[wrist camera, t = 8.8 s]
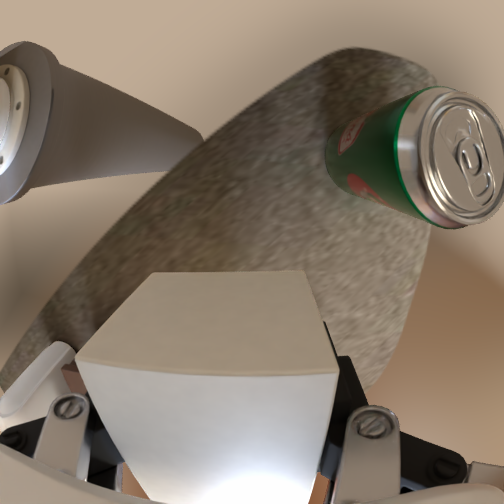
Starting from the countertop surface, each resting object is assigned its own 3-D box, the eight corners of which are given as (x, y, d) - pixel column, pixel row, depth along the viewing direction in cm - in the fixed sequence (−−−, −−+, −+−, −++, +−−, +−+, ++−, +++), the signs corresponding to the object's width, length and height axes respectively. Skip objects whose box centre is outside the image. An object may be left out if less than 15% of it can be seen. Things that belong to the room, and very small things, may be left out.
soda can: (368, 110, 17) (480, 63, 6) (402, 173, 18) (529, 194, 7) (308, 144, 18) (378, 113, 7) (346, 208, 19) (446, 266, 8)
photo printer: (113, 415, 26) (72, 499, 14) (84, 411, 26) (41, 486, 14) (75, 339, 23) (2, 424, 11) (46, 338, 24) (-24, 411, 12)
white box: (180, 409, 11) (152, 502, 6) (151, 271, 9) (71, 356, 5) (296, 412, 11) (305, 512, 6) (304, 269, 9) (340, 369, 4)
